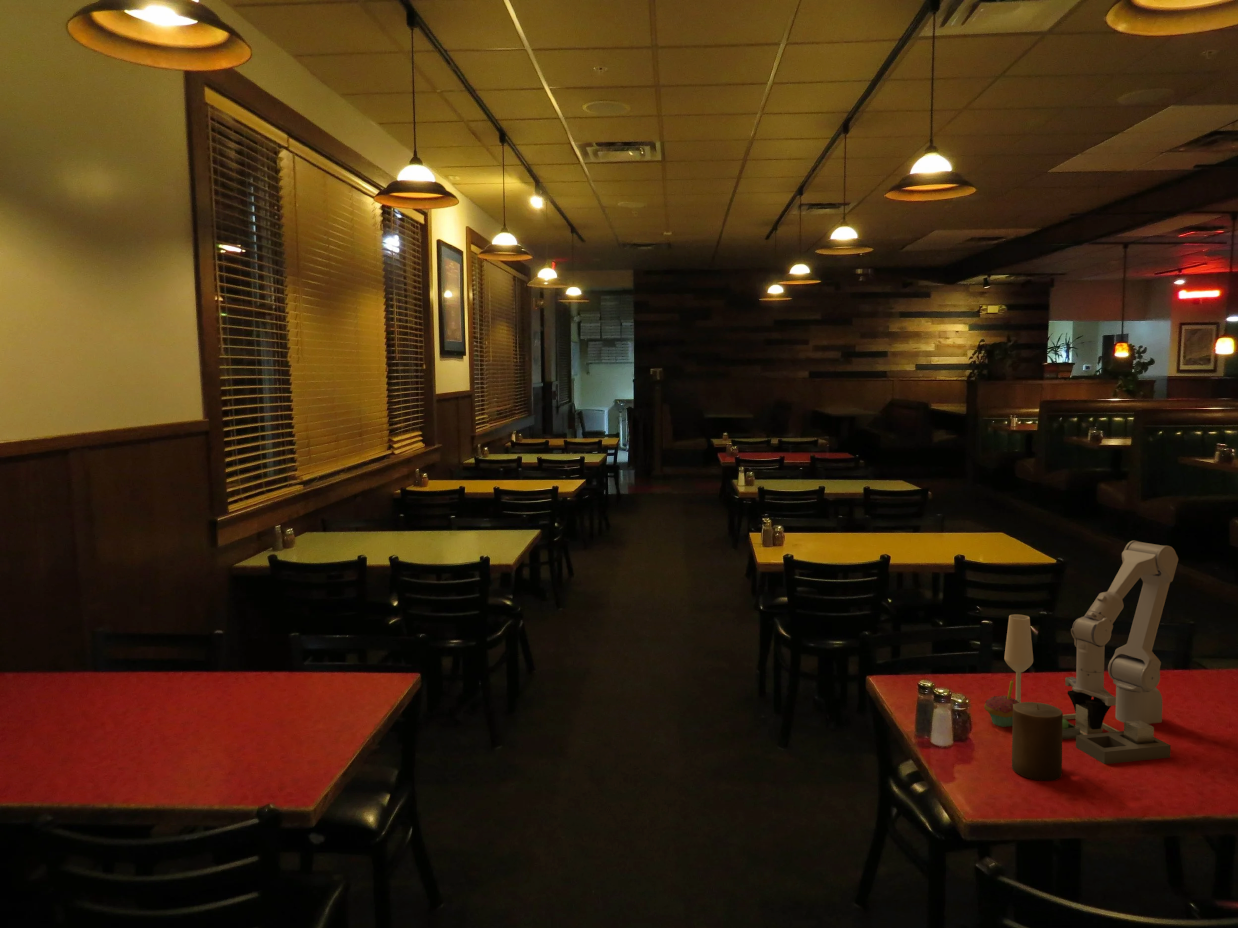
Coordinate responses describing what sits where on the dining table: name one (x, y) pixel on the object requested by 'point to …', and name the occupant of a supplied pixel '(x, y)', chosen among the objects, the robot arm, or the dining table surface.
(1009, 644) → the champagne flute
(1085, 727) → the block
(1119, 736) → the grey holding fixture
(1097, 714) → the robot arm
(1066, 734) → the switch box
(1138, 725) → the seated billet
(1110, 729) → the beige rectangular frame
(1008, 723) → the cupcake
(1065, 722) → the button
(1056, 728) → the pillar candle
